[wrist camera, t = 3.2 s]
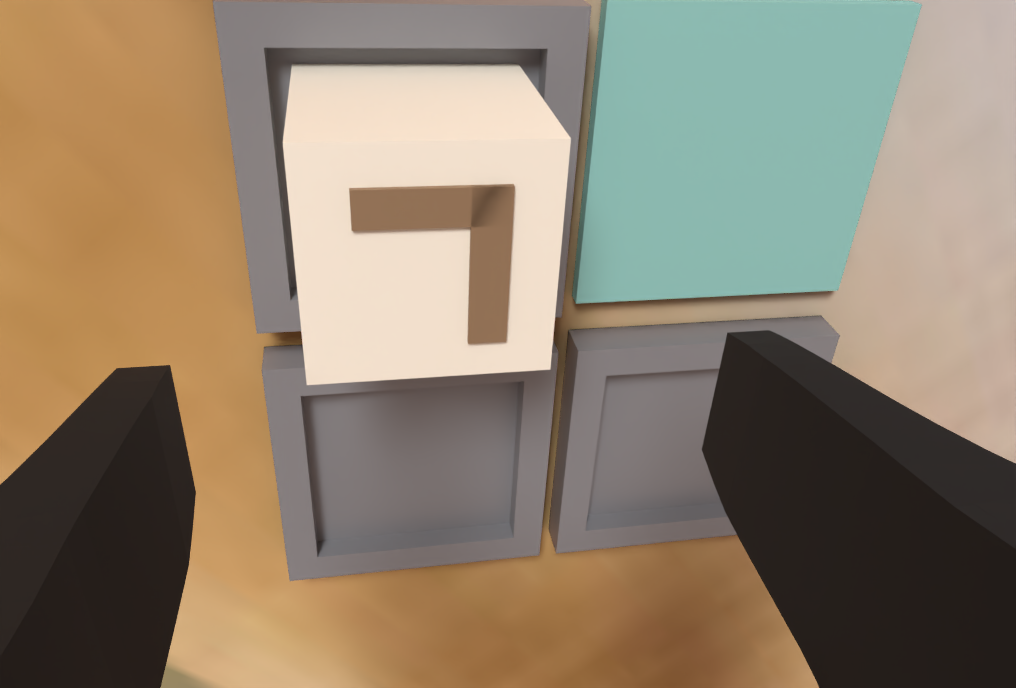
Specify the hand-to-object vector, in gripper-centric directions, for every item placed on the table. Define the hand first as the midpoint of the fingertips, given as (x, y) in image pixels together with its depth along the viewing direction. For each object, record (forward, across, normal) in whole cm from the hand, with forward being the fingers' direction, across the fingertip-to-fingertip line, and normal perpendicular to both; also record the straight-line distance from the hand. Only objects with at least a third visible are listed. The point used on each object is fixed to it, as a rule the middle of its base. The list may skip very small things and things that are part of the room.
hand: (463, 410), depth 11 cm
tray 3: (+9, -8, +8) cm, 14 cm away
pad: (+9, -8, 0) cm, 12 cm away
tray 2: (+9, 0, +8) cm, 12 cm away
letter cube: (+8, 0, 0) cm, 8 cm away
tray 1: (+9, 0, 0) cm, 9 cm away
